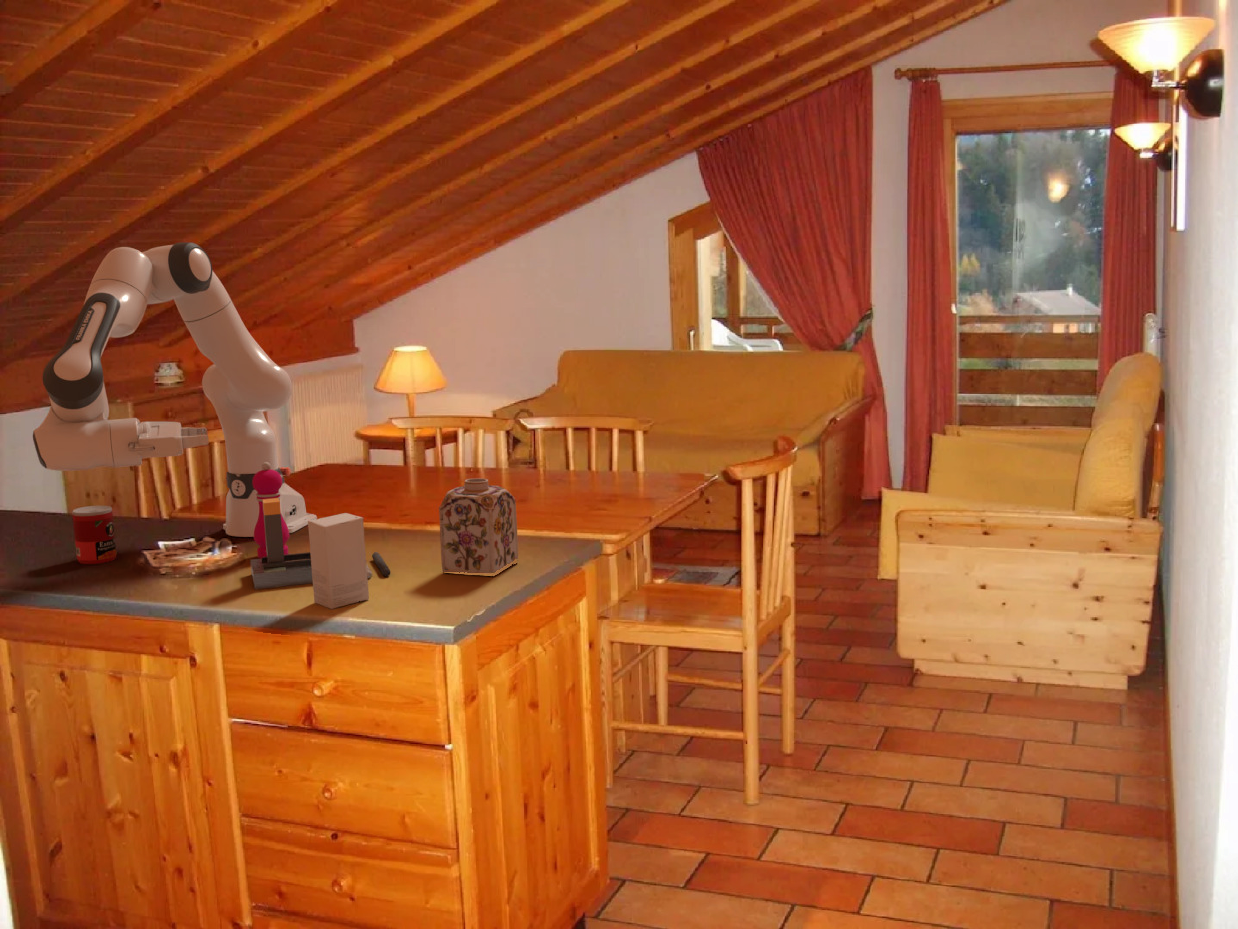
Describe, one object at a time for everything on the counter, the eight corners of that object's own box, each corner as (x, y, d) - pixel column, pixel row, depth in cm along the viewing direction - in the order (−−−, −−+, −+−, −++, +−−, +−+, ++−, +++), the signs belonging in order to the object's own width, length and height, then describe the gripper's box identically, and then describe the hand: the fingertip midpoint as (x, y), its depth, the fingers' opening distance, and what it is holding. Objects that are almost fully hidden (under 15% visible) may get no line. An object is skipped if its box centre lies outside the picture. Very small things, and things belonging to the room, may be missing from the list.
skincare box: (352, 593, 235) (346, 511, 232) (371, 600, 230) (366, 517, 227) (312, 603, 229) (305, 519, 226) (330, 610, 224) (324, 524, 222)
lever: (268, 566, 244) (263, 503, 241) (267, 561, 247) (262, 499, 245) (284, 564, 244) (279, 501, 242) (283, 559, 248) (278, 497, 246)
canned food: (103, 565, 262) (98, 513, 260) (69, 564, 263) (63, 512, 261) (124, 556, 269) (119, 505, 267) (91, 555, 271) (85, 505, 269)
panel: (254, 589, 239) (253, 569, 239) (251, 574, 251) (250, 554, 250) (350, 578, 245) (349, 558, 244) (343, 564, 256) (342, 545, 256)
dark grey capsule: (354, 561, 259) (353, 553, 258) (379, 558, 260) (379, 551, 260) (364, 579, 244) (363, 571, 244) (391, 576, 246) (390, 568, 246)
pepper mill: (297, 552, 268) (290, 459, 264) (278, 560, 261) (270, 465, 257) (268, 550, 270) (261, 458, 267) (248, 559, 263) (240, 464, 260)
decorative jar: (440, 574, 247) (435, 484, 244) (467, 559, 258) (463, 473, 254) (495, 578, 243) (491, 486, 240) (520, 563, 253) (517, 475, 250)
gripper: (125, 433, 223) (207, 426, 228) (129, 418, 242) (205, 412, 247) (129, 468, 225) (210, 461, 229) (133, 450, 244) (208, 444, 248)
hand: (207, 435), depth 238 cm, fingers open, 8 cm apart
